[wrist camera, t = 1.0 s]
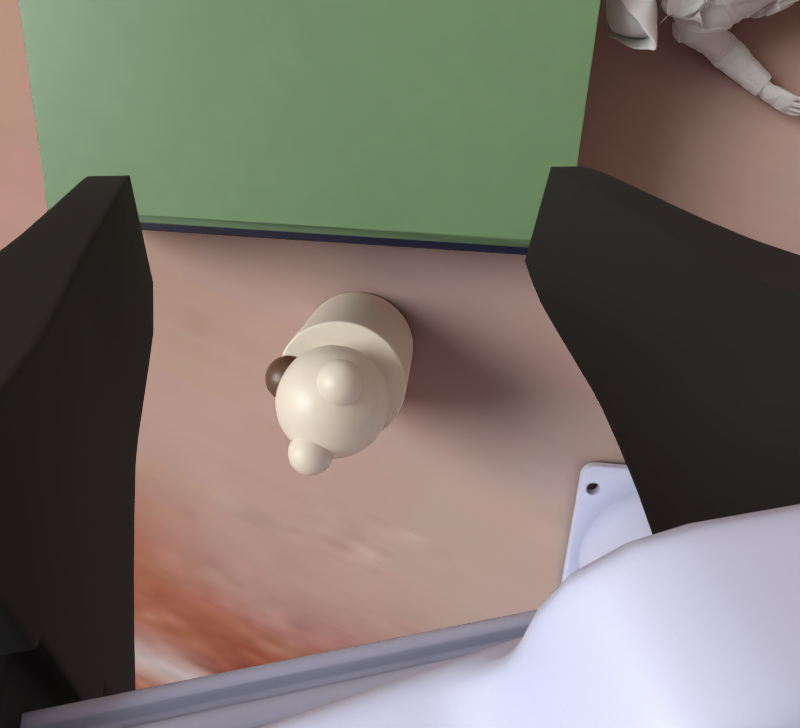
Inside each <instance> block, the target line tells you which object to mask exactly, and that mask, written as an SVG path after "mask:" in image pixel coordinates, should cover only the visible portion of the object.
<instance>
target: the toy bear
mask: <svg viewBox="0 0 800 728" xmlns="http://www.w3.org/2000/svg"><path fill="white" fill-rule="evenodd" d="M412 356H413V339H412V334H411V331H410V328H409V326H408V324H407V322H406V320H405V318H404V317H403V315H402V314H401V313H400V312H399V311H398V309H396V308H395V307H394V306H393V305H392V304H390V303H389V302H388V301H386V300H384V299H382V298H380V297H378V296H375V295H373V294H368V293H363V292H349V293H343V294H340V295H336V296H334V297H332V298H330V299H328V300H327V301H325V302H324V303H322V304H321V305H320V306H319V307H318V308H317V309H316V310H315V311H314V313H313V314H312V315H311V316H310V318H309V319H308V320H307V321H306V323H305V324H304V325H303V326H302V328H301V329H300V330H299V331H298V333H297V334H296V335H295V336H294V338H293V339H292V340H291V341H290V343H289V344H288V345H287V347H286V348H285V350H284V352H283V354H282V356H281V357H279V358H277V359H276V360H274V361H273V362H272V363H271V364H270V366H269V367H268V369H267V372H266V385H267V388H268V390H269V391H270V393H271V394H272V395H273V396H274V397H276V398H275V406H276V413H277V417H278V421H279V423H280V426H281V428H282V429H283V431H284V433H285V434H286V436H287V437H288V438H289V440H290V441H291V443H290V445H289V449H288V457H289V461H290V463H291V465H292V467H293V468H294V469H295V470H296V471H298V472H299V473H301V474H304V475H317V474H320V473H321V472H323V471H325V470H326V469H327V468H328V467H329V465H330V463H331V462H332V459H336V458H343V457H347V456H351V455H353V454H356V453H358V452H360V451H361V450H363V449H365V448H366V447H367V446H369V445H370V444H371V443H372V442H373V441H374V440H375V439H376V438H377V436H378V435H379V434H380V432H381V431H382V430H384V429H385V428H386V427H387V426H388V425H389V424H390V423H391V422H392V421H393V420H394V419H395V418H396V416H397V415H398V413H399V411H400V409H401V407H402V405H403V402H404V398H405V394H406V388H407V383H408V377H409V372H410V366H411V361H412Z"/></svg>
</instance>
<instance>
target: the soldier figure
mask: <svg viewBox="0 0 800 728" xmlns="http://www.w3.org/2000/svg"><path fill="white" fill-rule="evenodd" d="M797 1H799V0H660V4H661V7H662V9H663V11H664V12H665V13H666V14H667V16H668V15H669V16H670V17H673V18H674V22H672V26H673V30H672V31H673V36H674V38H675V39H676V40H677V41H678V42H679V43H681V42H682V43H684V44H686V45H687V46H689V47H691V48H693V49H696V50H697V52H699V53H702V54H703V55H704V56H706V57H707V58H708V60H710V61H711V63H712V65H713V66H715V67H716V68H718V69H719V70H721V71H722V72H723V73H725V74H726V75H727V76H729V77H730V78H731V79H732V80H734V81H735V82H737V83H738V84H739V85H741V86H742V87H743V88H744V89H746V90H747V91H749V92H750V93H751V94H753V95H754V96H756V95H759V96H760V97H761V99H762V100H763V101H765V102H766V103H767V102H768V103H769V104H770V105H771V106H773V107H774V108H775V109H776V110H778V111H780V112H782V113H784V114H787V115H790V116H800V109H798V108H800V103H799V102H796V101H800V96H798V95H795V94H793V93H791V92H790V91H788V90H787V89H785V88H783V87H781V86H778V85H773V84H772V83H771V82H770V79H771V77H772V76H771V75H770V74H769V72H768V71H767V70H766V69H765V68H763V66H762V65H761V64H760V62H759V61H758V60H757V59H755V58H754V57H753V56H752V54H751V53H750V51H749V49H748V48H747V47H746V46H745V45H744V44H743V43H742V42H741V41H739V40H738V39H737V38H736V37H735V36H734V34H733V33H731V32H730V31H729V30H728V29H730V28H732V25H733V24H736V23H738V22H739V21H741V19H744V18H749V17H750V18H754V19H757V18H760V17H762V16H765V15H766V17H768V16H770V15H773V14H775V13H777V12H780V11H782V10H784V9H786V8H788V7H790V6H792V5H793V4H794V3H796V2H797ZM667 16H666V17H665V18H664V19H666V18H667ZM606 17H607V21H606V35H607V37H608V38H614V39H616V40H618V41H620V42H621V43H622V44H624V45H625V46H627V47H630V48H633V49H638V50H645V49H649V50H656V48H657V3H656V0H606ZM664 19H663V20H664ZM663 20H662V21H663ZM662 21H661V22H662ZM661 22H660V23H661ZM660 23H659V24H660ZM658 26H659V25H658Z"/></svg>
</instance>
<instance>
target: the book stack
mask: <svg viewBox="0 0 800 728" xmlns="http://www.w3.org/2000/svg"><path fill="white" fill-rule="evenodd" d="M18 1H19V8H20V15H21V22H22V29H23V37H24V44H25V51H26V58H27V65H28V72H29V79H30V86H31V94H32V101H33V108H34V115H35V122H36V129H37V136H38V143H39V151H40V158H41V165H42V172H43V179H44V186H45V193H46V201H47V208H48V211H49V210H50V209H51V208H52V207H53V206H54V205H55V204H56V203H57V202H59V201H60V200H61V199H62V198H63V197H64V196H65V195H66V194H67V193H68V192H69V191H70V190H72V189H73V188H74V187H75V186H76V185H77V184H78V183H79V182H81V181H82V180H83V179H84V178H86V177H87V176H124V175H130V179H131V184H132V188H133V193H134V198H135V202H136V207H137V212H138V216H139V221H140V225H141V230H153V231H168V232H183V233H199V234H214V235H229V236H244V237H260V238H275V239H290V240H306V241H321V242H336V243H352V244H367V245H382V246H398V247H413V248H428V249H444V250H459V251H474V252H490V253H505V254H520V255H527V252H528V248H529V244H530V241H531V237H532V234H533V230H534V226H535V223H536V219H537V216H538V212H539V208H540V205H541V201H542V197H543V194H544V190H545V187H546V183H547V179H548V176H549V172H550V169H551V167H565V166H577V164H578V157H579V150H580V143H581V136H582V129H583V122H584V115H585V108H586V101H587V94H588V87H589V80H590V73H591V66H592V59H593V52H594V45H595V38H596V31H597V24H598V17H599V10H600V3H601V0H18Z"/></svg>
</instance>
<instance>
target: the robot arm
mask: <svg viewBox="0 0 800 728" xmlns="http://www.w3.org/2000/svg"><path fill="white" fill-rule="evenodd" d="M525 263H526V266H527V268H528V271H529V274H530V277H531V279H532V282H533V285H534V287H535V290H536V292H537V294H538V297H539V299H540V302H541V304H542V305H543V307H544V309H545V311H546V313H547V314H548V316H549V318H550V320H551V321H552V323H553V325H554V326H555V328H556V330H557V332H558V333H559V335H560V337H561V338H562V340H563V342H564V343H565V345H566V347H567V348H568V350H569V352H570V353H571V355H572V357H573V358H574V360H575V362H576V363H577V365H578V367H579V368H580V370H581V372H582V373H583V375H584V377H585V378H586V380H587V382H588V383H589V385H590V387H591V388H592V390H593V392H594V394H595V396H596V398H597V399H598V401H599V403H600V405H601V407H602V409H603V411H604V413H605V416H606V418H607V420H608V422H609V425H610V427H611V429H612V431H613V434H614V436H615V438H616V440H617V443H618V445H619V447H620V450H621V452H622V455H623V457H624V460H625V462H626V465H623V464H611V463H599V462H592V463H588V464H586V465H585V466H584V467H583V468H582V470H581V472H580V478H579V483H578V489H577V495H576V501H575V506H574V512H573V518H572V524H571V530H570V535H569V541H568V547H567V553H566V559H565V564H564V570H563V576H562V582H561V584H560V585H559V586H558V587H557V588H556V589H555V590H554V591H553V593H552V594H551V595H550V596H549V597H548V598H547V599H546V600H545V601H544V602H543V603H542V604H541V605H540V606H539V608H538V610H533V611H528V612H523V613H518V614H513V615H508V616H503V617H498V618H493V619H488V620H483V621H478V622H473V623H468V624H463V625H458V626H453V627H448V628H443V629H438V630H433V631H428V632H423V633H418V634H413V635H408V636H403V637H398V638H393V639H388V640H383V641H378V642H373V643H368V644H363V645H358V646H353V647H348V648H343V649H339V650H334V651H329V652H324V653H319V654H314V655H309V656H304V657H299V658H294V659H289V660H284V661H279V662H274V663H269V664H264V665H259V666H254V667H249V668H244V669H239V670H234V671H229V672H224V673H219V674H214V675H209V676H204V677H199V678H194V679H189V680H184V681H179V682H174V683H169V684H164V685H159V686H154V687H149V688H144V689H139V690H135V653H134V504H135V464H136V453H137V442H138V435H139V428H140V421H141V414H142V407H143V400H144V394H145V387H146V380H147V373H148V366H149V359H150V352H151V345H152V337H153V281H152V276H151V272H150V267H149V262H148V258H147V253H146V249H145V244H144V239H143V235H142V230H141V225H140V221H139V216H138V212H137V207H136V202H135V198H134V193H133V188H132V184H131V179H130V175H124V176H87V177H86V178H84V179H83V180H82V181H81V182H79V183H78V184H77V185H76V186H75V187H74V188H73V189H72V190H70V191H69V192H68V193H67V194H66V195H65V196H64V197H63V198H62V199H61V200H60V201H59V202H57V203H56V204H55V205H54V206H53V207H52V208H51V209H50V210H49V211H48V212H46V213H45V214H44V215H43V216H42V217H41V218H40V219H38V220H37V221H36V222H35V223H34V224H33V225H32V226H31V227H29V228H28V229H27V230H26V231H25V232H24V233H23V234H21V235H20V236H19V237H18V238H16V239H15V240H14V241H12V242H11V243H10V244H9V245H7V246H6V247H5V248H3V249H2V250H1V251H0V728H800V255H797V254H794V253H791V252H788V251H785V250H782V249H779V248H776V247H773V246H770V245H767V244H764V243H761V242H758V241H756V240H753V239H751V238H748V237H745V236H743V235H740V234H738V233H735V232H733V231H730V230H728V229H726V228H723V227H721V226H719V225H716V224H714V223H711V222H709V221H707V220H704V219H702V218H700V217H698V216H695V215H693V214H691V213H689V212H687V211H684V210H682V209H680V208H678V207H676V206H674V205H672V204H669V203H667V202H665V201H663V200H661V199H659V198H657V197H655V196H653V195H650V194H648V193H646V192H644V191H642V190H640V189H638V188H635V187H633V186H631V185H629V184H627V183H625V182H623V181H620V180H618V179H616V178H613V177H611V176H609V175H606V174H604V173H601V172H599V171H596V170H593V169H590V168H586V167H583V166H565V167H551V169H550V172H549V176H548V179H547V183H546V187H545V190H544V194H543V197H542V201H541V205H540V208H539V212H538V216H537V219H536V223H535V226H534V230H533V234H532V237H531V241H530V244H529V248H528V252H527V255H526V259H525ZM591 483H596V484H598V485H597V487H596V488H594V489H591V490H589V489H587V486H588V485H589V484H591Z"/></svg>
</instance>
